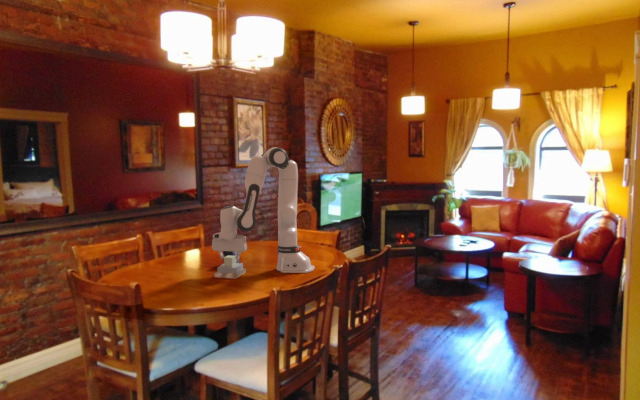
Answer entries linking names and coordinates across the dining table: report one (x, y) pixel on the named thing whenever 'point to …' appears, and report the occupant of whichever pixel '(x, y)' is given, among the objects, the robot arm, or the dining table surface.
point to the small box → (230, 254)
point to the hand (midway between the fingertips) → (229, 258)
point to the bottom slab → (230, 274)
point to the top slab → (230, 268)
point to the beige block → (229, 260)
